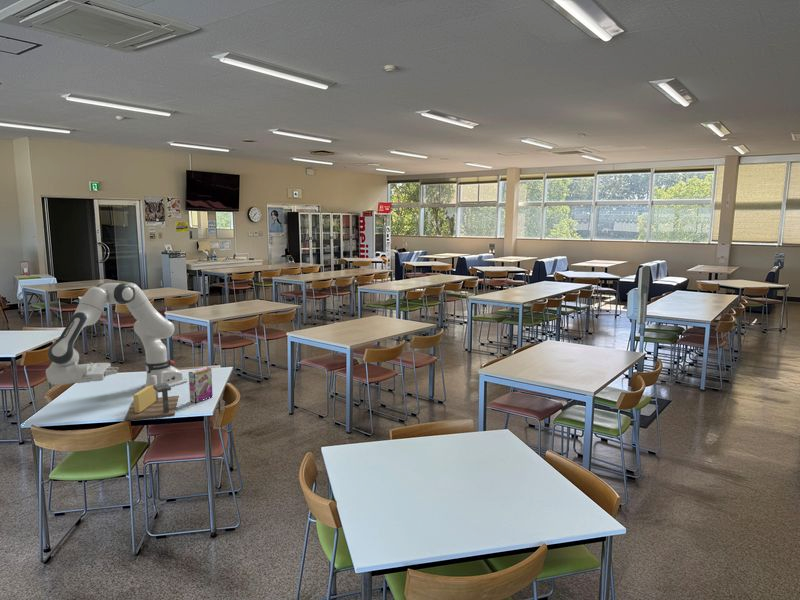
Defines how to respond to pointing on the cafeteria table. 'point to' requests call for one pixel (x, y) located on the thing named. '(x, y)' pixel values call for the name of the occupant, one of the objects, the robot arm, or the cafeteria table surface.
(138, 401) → the yellow rectangular slab
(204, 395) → the candy bar box
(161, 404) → the pintle board
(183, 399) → the cafeteria table surface
